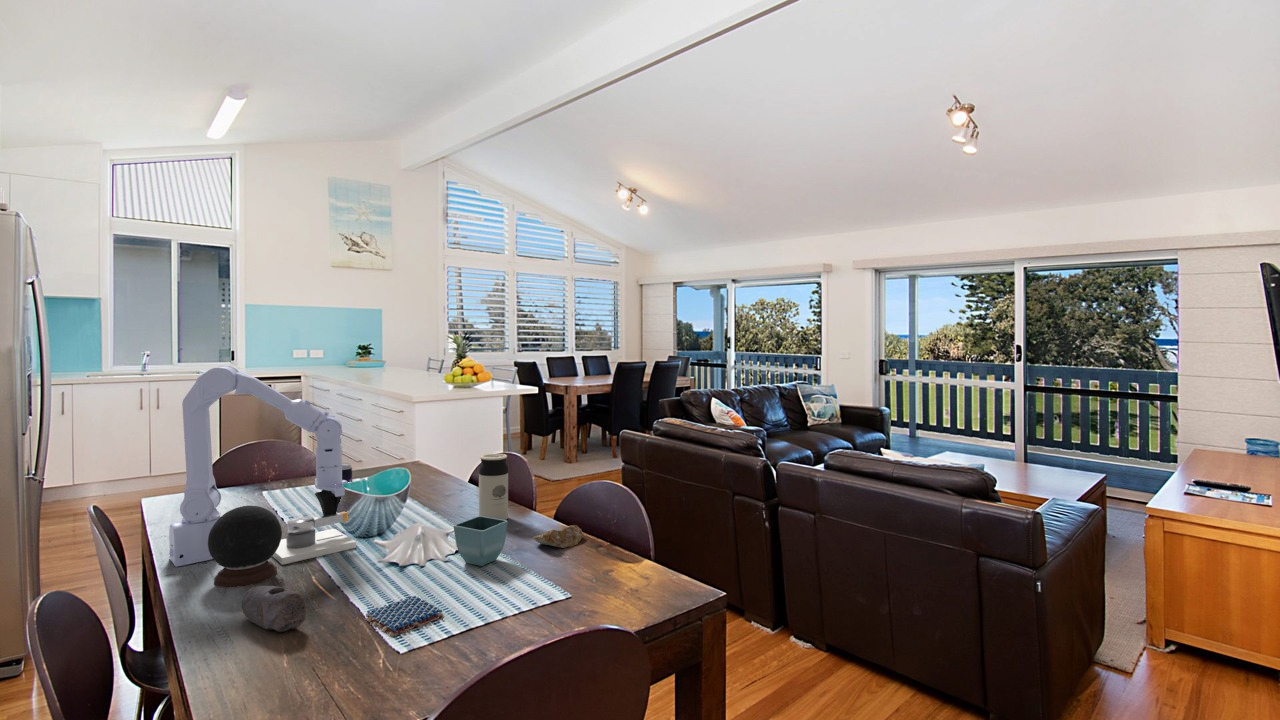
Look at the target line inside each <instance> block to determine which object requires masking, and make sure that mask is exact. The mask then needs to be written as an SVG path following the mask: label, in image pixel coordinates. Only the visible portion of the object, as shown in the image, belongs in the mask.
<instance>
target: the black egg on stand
mask: <svg viewBox="0 0 1280 720" xmlns="http://www.w3.org/2000/svg"><path fill="white" fill-rule="evenodd" d="M282 535H283V532H282V526H281V524H280V521H279V519H278V517H277V516H276V515H275V514H274V513H273V512H272V511H270V510H269V509H266V508H265V507H262V506H258V505H243V506H238V507H235V508H233V509H230V510H229V511H226V512H225V513H223V514H222V515H220V518H219V519H218V520H217V521H216V522H215V524H214V525H213V527H212V528H211V530H210V533H209V536H208V549H209V552H210V555H211V557H212V558H213V559H212V560H214V562H215V563H217V564H218V565H219V566H221V567H223V568H222V569H220V570H219V571H218V572H217V574H216V575H215V576H214V578H213V579H214V580H213V583H214V585H215V586H217V587H220V588H226V589H227V588H231V589H232V588H240V587H247V586H253V585H256V584H257V585H258V584H260V583H263V582H266V581H268V580H270V579H272V578H274V577H275V576H276V575H277V572H278V569H277V568H278V567H277V566H276V565H275V564H274V563H273V562H271V561H268V560H270V559H271V558H273V554H274V553H275V552H276V550H277V549H278V547H279V544H280V541H281V539H282V538H283V537H282Z"/></svg>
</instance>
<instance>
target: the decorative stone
mask: <svg viewBox="0 0 1280 720" xmlns="http://www.w3.org/2000/svg"><path fill="white" fill-rule="evenodd" d="M582 538H583V530H582V528H580V527H579V526H578V525H577V524H573V525H569V526H567V527H565V528H562V529H560V530H556V529H551V530H548V531H546V532H543V533H540V534H537V535H534V536H533V537H532V540H534V541H536V543H538V544H541V545H544V546H545V545H546V546H552V547H555V548H562V549H565V548H570V547H574V546H577V545H578V544H579V543H580V541H581V540H582Z"/></svg>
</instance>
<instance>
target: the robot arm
mask: <svg viewBox="0 0 1280 720" xmlns="http://www.w3.org/2000/svg"><path fill="white" fill-rule="evenodd" d="M233 391H234V394H235V395H251V396H254V397H255V398H257V399H259V400H261V401H262V402H265V403H266V404H268V405H270V406H273V407H274V408H276V409H278V410H280V411H282V412H283V413H284V418H285V420H287V421H289V422H290V423H292V424H294V425H296V426H297V427H300V428H301V429H303V430H305V431H306V432H308V433H314V436H315V437H316V448H315V471H316V472H315V476H316V477H315V478H314V487H315V489H317V490H321V491H317V492H315V493H314V495H315V497H316V499H317V500H318V503H319V505H320V508H321V511H322V516H326V515H331V514H336V513H338V507H339V505H338V504H339V502H340V499H341V496H345V488H344V487H343V485H344V484H347V481H346V480H342V463H343V446H342V445H341V444H342V438H341V436H342V433H343V429H342V428H343V427H342V423H341V421H340V420H339V419H338V418H337V417H336V416H334V415H331V414H330V412H328V411H327V410H325V411H323V410H321V409H320V408H318V407H316V406H314V405H312V401H310V400H309V399H306V400H304V399H303V398H298V399H294V400H293V399H290V398H289V397H287V396H286V395H284V394H282V393H281V392H279V391H278V390H276V389H275V388H273V387H271V386H269V384H267V383H265V382H263V381H261V380H260V379H259V378H257V377H255V376H252V375H250V374H248V373H246V372H244V371H241V370H240V371H239V370H238V369H237V368H235V367H233V366H231V365H221V366H218V367H212V368H211V369H209V370H207V371H205V372H204V373H203V374H201V375H200V376H198V377H197V379H196V381H195V383H194V384H193V385H192V387H191V388H190V390H189V391H188V392H187V393H186V395H185V397H183V400H182V404H181V405H182V420H183V436H184V439H183V440H184V453H185V473H186V479H185V480H186V481H185V486H184V491H183V492H184V495H183V500H182V502H181V504H180V506H179V512H180V514H181V516H182V518H181V520H180V521H178V522H174V523H171V524H170V525H169V533H168V534H169V539H168V540H169V550H168V551H169V554H168V555H169V557H168V558H169V560H170V561H171V562H172V563H173V565H174V566H175V567H177V568H178V567H181V566H187V565H191V564H195V563H201V562H202V563H203V562H205V561H211V560H214V559H213V558H212V557H211V555H210V552H209V549H208V536H209V533H210V530H211V528H212V527H213V525H214V524H215V522H216V521H217V520H218V519H219V518H220V517H221V513H220V512H219V511H218V509H217V507H218V506H219V505H220V503H221V501H222V494H221V492H220V490H219V489H218V487H217V484H216V479H215V476H214V473H213V457H212V456H213V455H212V453H213V451H212V439H211V438H212V437H211V435H212V434H211V418H210V417H211V416H210V407H211V406H212V405H214V404H215V403H216V402H217V401H218V400H219V399H220V398H221V397H223V396H225V395H227V394H229V393H231V392H233ZM335 484H336V485H335Z"/></svg>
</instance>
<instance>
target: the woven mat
mask: <svg viewBox="0 0 1280 720" xmlns="http://www.w3.org/2000/svg"><path fill="white" fill-rule="evenodd" d="M443 616H444V613H443V609H440V607H437V606H436V605H435V604H432V603H431V602H428V601H427V600H426V599H425V600H424V599H423V598H422V597H419V596H417V595H413V596H412V597H411V596H407V598H405V599H399V601H397V602H395V601H392V602H391V603H390V604H388V605H387V604H384V605H383V606H382V607H380V608H379V607H375V609H372V610H371V611H370V610H367V611H366V614H365V617H366V618H364V621H368V623H369V624H370V625H372V626H377V628H380V630H381V631H382V632H384V633H385V635H387V634H388V636H389V637H393V636H396V635H398V634H399V635H400V634H401V633H403V632H407V631H409V630H412V629H414V628H417V627H420V626H422V625H425V624H427V623H430V622H433V621H435V620H437V619H441V618H443Z"/></svg>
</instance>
